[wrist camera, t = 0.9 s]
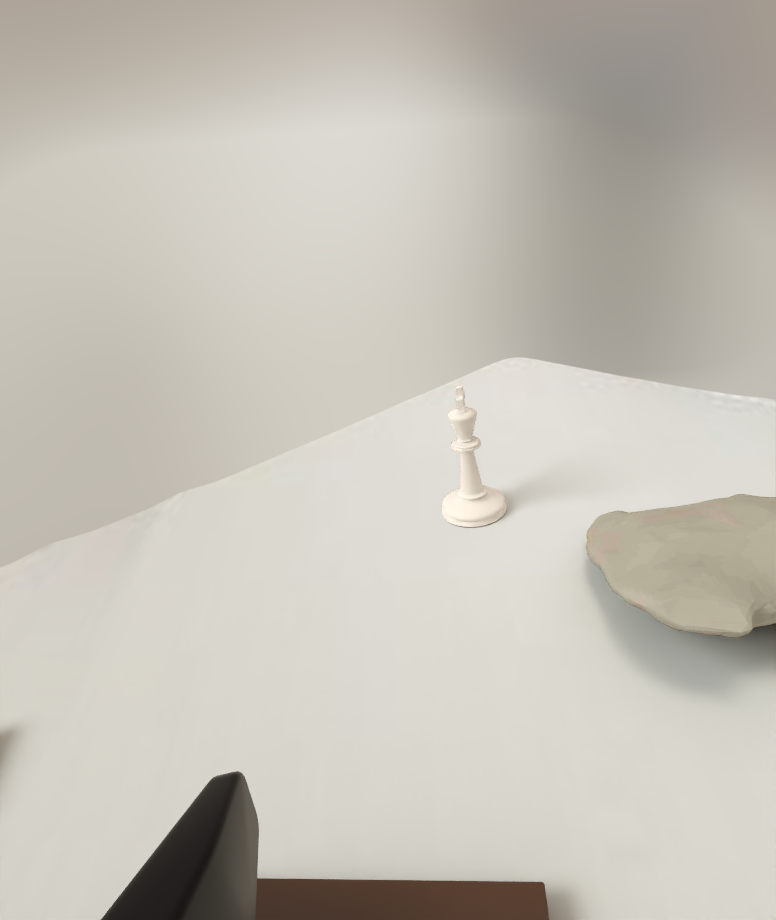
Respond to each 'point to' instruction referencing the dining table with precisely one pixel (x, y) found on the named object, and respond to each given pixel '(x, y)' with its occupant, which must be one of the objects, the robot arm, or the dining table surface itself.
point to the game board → (399, 900)
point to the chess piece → (470, 476)
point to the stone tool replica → (694, 562)
